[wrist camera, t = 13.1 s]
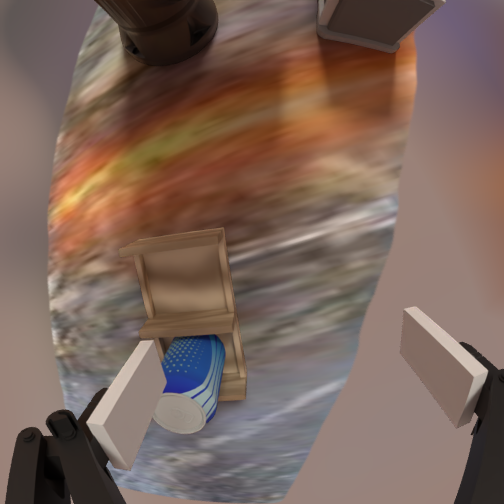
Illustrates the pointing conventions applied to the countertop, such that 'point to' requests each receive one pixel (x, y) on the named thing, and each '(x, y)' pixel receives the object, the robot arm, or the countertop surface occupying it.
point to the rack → (191, 296)
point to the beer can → (190, 383)
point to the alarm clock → (373, 21)
